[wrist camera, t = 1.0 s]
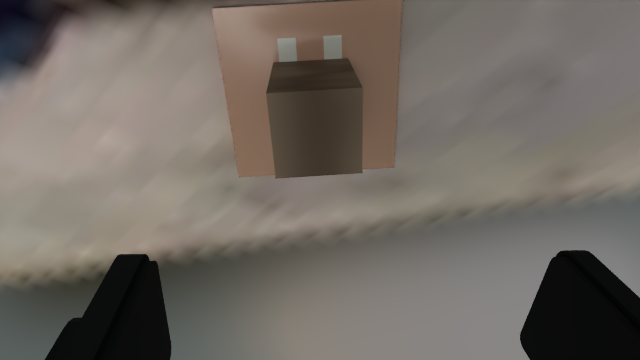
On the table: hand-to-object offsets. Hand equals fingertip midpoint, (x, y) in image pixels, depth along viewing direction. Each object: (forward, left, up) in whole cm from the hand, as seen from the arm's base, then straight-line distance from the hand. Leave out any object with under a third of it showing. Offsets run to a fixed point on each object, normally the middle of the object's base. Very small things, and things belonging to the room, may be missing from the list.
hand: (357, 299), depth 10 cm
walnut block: (+1, +1, -20) cm, 20 cm away
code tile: (+1, +1, -21) cm, 21 cm away
